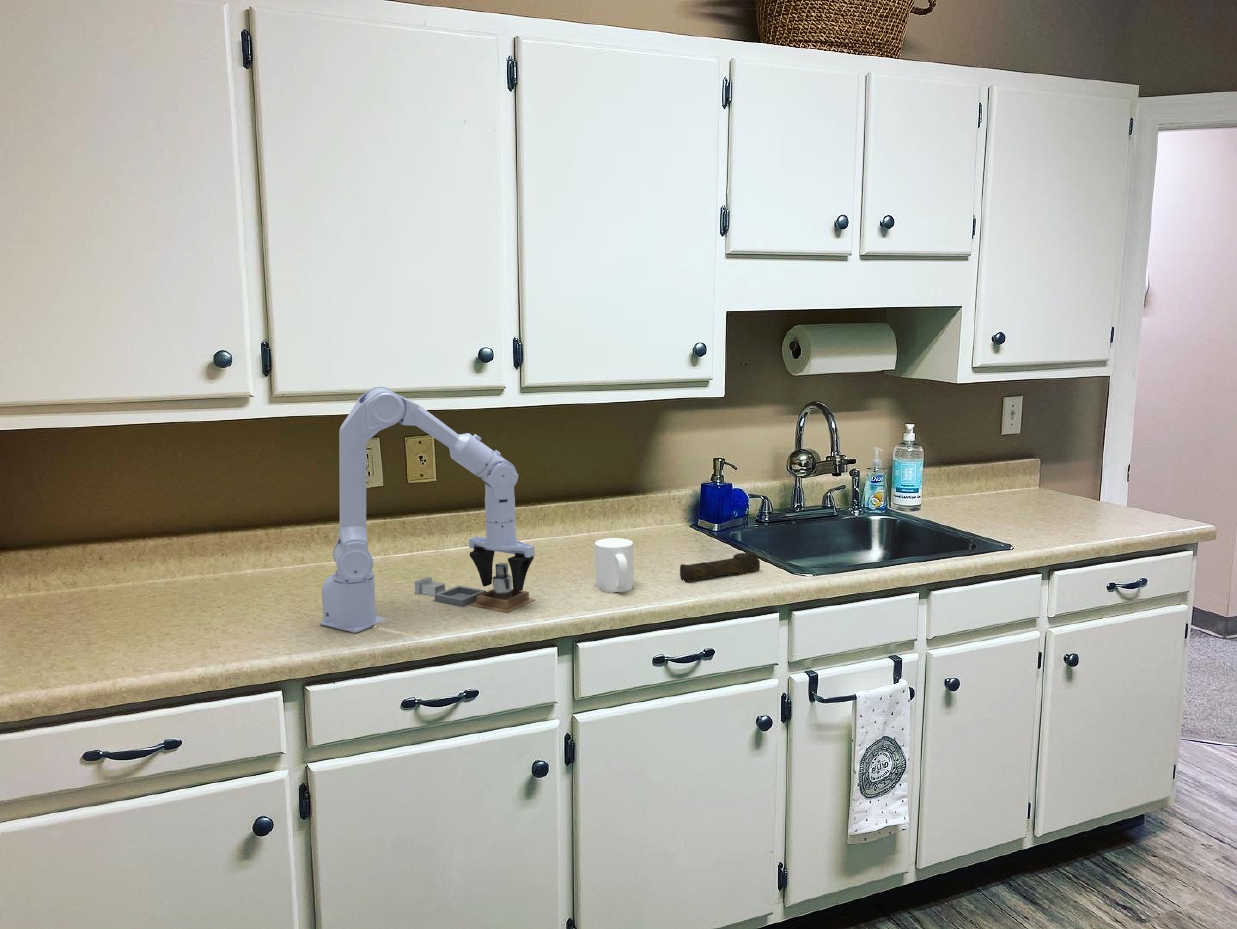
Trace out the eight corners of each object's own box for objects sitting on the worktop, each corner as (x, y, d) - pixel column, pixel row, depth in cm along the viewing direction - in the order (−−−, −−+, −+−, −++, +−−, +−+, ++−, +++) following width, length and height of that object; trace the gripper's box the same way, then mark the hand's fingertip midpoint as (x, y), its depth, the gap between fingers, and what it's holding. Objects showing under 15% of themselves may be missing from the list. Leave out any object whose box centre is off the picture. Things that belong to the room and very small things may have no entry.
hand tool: (686, 585, 200) (687, 563, 199) (678, 580, 204) (678, 559, 203) (765, 575, 207) (766, 554, 206) (756, 570, 211) (756, 550, 210)
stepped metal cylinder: (489, 602, 186) (488, 565, 185) (502, 597, 189) (500, 561, 188) (504, 605, 184) (502, 568, 183) (516, 600, 187) (514, 563, 186)
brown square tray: (470, 608, 185) (469, 596, 185) (499, 596, 193) (498, 584, 192) (507, 616, 181) (506, 603, 180) (535, 603, 188) (535, 591, 188)
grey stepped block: (415, 595, 193) (414, 581, 193) (428, 590, 197) (427, 576, 196) (434, 599, 191) (433, 585, 190) (446, 594, 194) (446, 580, 194)
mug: (589, 538, 201) (625, 535, 203) (589, 581, 202) (626, 578, 205) (604, 552, 189) (643, 549, 192) (605, 598, 191) (643, 594, 193)
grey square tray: (431, 603, 188) (431, 594, 188) (458, 593, 195) (458, 584, 195) (463, 610, 184) (462, 601, 184) (489, 599, 191) (489, 590, 191)
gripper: (543, 519, 184) (544, 588, 186) (484, 511, 191) (486, 577, 193) (521, 527, 178) (523, 597, 180) (460, 518, 185) (463, 586, 187)
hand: (502, 588), depth 186 cm, fingers open, 7 cm apart
